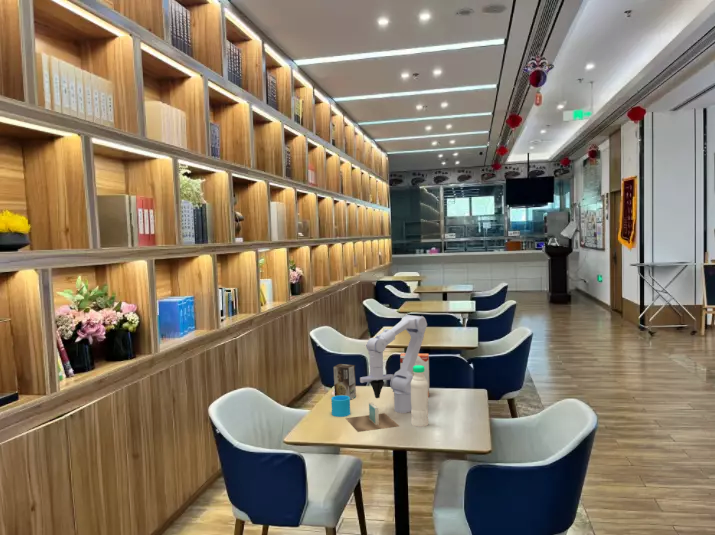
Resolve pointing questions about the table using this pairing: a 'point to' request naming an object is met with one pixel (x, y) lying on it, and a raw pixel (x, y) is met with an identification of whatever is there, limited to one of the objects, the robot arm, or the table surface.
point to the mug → (340, 406)
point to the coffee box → (344, 380)
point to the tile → (373, 413)
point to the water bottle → (419, 397)
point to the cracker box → (421, 360)
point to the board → (371, 423)
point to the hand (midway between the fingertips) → (377, 397)
